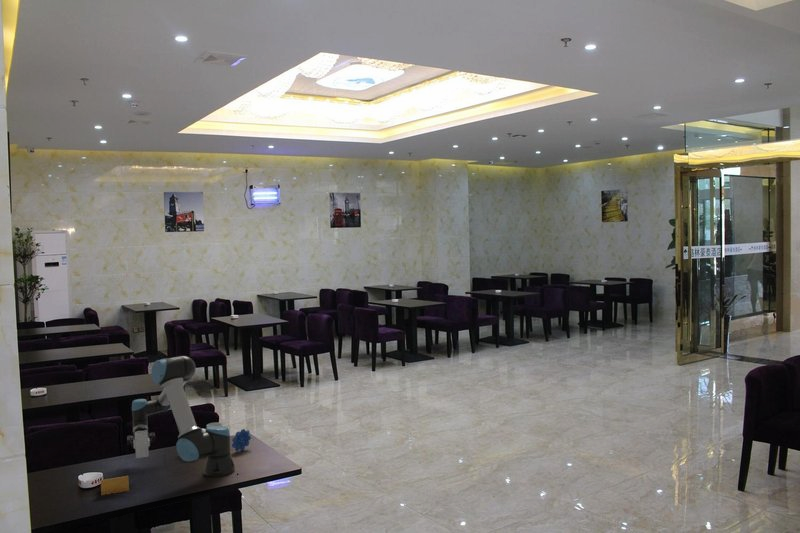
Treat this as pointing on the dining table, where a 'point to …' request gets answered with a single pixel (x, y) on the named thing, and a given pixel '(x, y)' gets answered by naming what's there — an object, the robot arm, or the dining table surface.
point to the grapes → (241, 440)
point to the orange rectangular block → (114, 485)
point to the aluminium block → (141, 444)
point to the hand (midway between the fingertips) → (141, 444)
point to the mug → (214, 424)
